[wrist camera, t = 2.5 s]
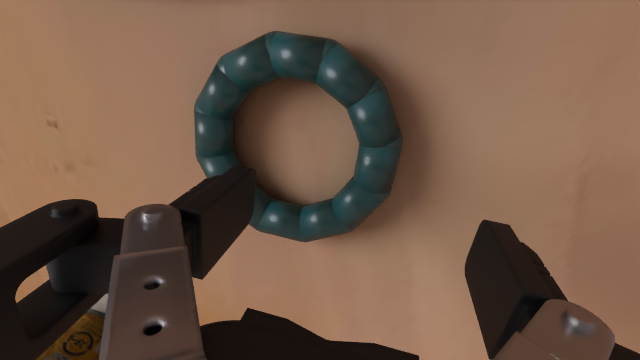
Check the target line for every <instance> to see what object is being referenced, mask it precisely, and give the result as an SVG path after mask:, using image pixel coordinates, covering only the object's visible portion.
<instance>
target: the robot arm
mask: <svg viewBox="0 0 640 360" xmlns="http://www.w3.org/2000/svg"><path fill="white" fill-rule="evenodd" d="M255 186H256V172H255V170H254V169H249V168H244V167H240V166H233V167H231V168H230V169H229V170H227V171H226V172H225V173H223V174H222V175H216V176H213V177H210V178H207V179H205V180H203V181H202V182H200V183H199V184H198V185H197V186H195V187H193V188H192V189H190V191H188V192H186V193H185V194H183V195H182V196H180V197H179V198H178V199H176V200H175V201H173V202H172V203H170V204H169V205H165V204H150V205H144V206H141V207H138V208H135V209H133V210H131V211H130V212H129V213H128V214H127V215H126V216H125V219H120V218H99V216H98V210H97V206H96V204H95V203H93V202H91V201H88V200H82V199H70V200H62V201H57V202H54V203H50V204H47V205H45V206H43V207H41V208H39V209H37V210H35V211H33V212H31V213H29V214H27V215H25V216H23V217H21V218H19V219H17V220H15V221H13V222H11V223H9V224H7V225H5V226H3V227H1V228H0V360H36V359H37V358H38V357H39V356H40V355H41V354H43V353H44V352H45V351H46V350H47V349H48V348H49V347H50V346H51V345H52V344H53V343H54V342H55V341H56V340H57V339H59V338H60V337H61V336H62V335H63V334H64V333H65V332H66V331H67V330H68V329H69V328H70V327H71V326H72V325H73V324H74V323H76V322H77V321H78V320H79V319H80V318H81V317H82V316H83V315H84V314H85V313H86V312H87V311H88V310H89V309H90V308H92V307H93V306H94V305H95V304H96V303H97V302H98V301H99V300H100V299H101V298H102V297H103V296H104V295H105V294H108V299H107V306H106V313H105V320H104V327H103V334H102V340H101V347H100V354H99V360H419V356H418V355H414V354H411V353H407V352H404V351H400V350H396V349H393V348H389V347H386V346H382V345H379V344H375V343H360V342H343V341H330V340H326V339H324V338H322V337H320V336H318V335H316V334H314V333H313V332H311V331H309V330H307V329H305V328H303V327H301V326H299V325H298V324H296V323H294V322H292V321H290V320H288V319H286V318H282V317H279V316H275V315H271V314H268V313H264V312H261V311H257V310H254V309H250V308H247V310H246V311H245V313H244V315H243V317H242V318H241V320H230V321H220V322H214V323H210V324H206V325H202V326H200V325H199V318H198V312H197V306H196V299H195V293H194V286H193V280H192V277H194V278H198V279H201V280H202V279H203V278H204V277H205V276H206V275H207V273H208V272H209V271H210V270H211V269H212V267H213V266H214V265H215V264H216V263H217V261H218V260H219V259H220V258H221V257H222V255H223V254H224V253H225V252H226V251H227V249H228V248H229V247H230V246H231V245H232V243H233V242H234V241H235V240H236V239H237V237H238V236H239V235H240V234H241V233H242V231H243V230H244V229H245V228H246V227H247V225H248V224H249V223H250V221H251V219H252V216H253V212H254V203H255ZM45 265H46V266H47V270H48V274H49V278H50V279H49V280H48V281H46V282H45V283H44V284H42V285H41V286H40V287H38V288H37V289H35V290H34V291H33V292H31V293H30V294H29V295H27V296H26V297H25V298H23V299H22V300H20V301H19V302H18V303H16V301H15V295H16V291H17V289H18V287H19V286H20V284H21V283H22V282H23V281H24V280H25V279H26V278H27V277H29V276H30V275H31V274H33V273H34V272H36V271H37V270H39V269H40V268H42V267H43V266H45ZM465 277H466V281H467V284H468V288H469V291H470V295H471V298H472V302H473V305H474V308H475V312H476V315H477V319H478V322H479V326H480V329H481V333H482V336H483V340H484V343H485V347H486V350H487V353H488V357H489V359H491V360H640V354H639V353H637V352H634V351H632V350H630V349H628V348H625V347H623V346H621V345H619V344H617V343H615V336H614V334H613V332H612V331H611V329H610V328H609V327H608V326H607V325H606V324H605V323H604V322H603V321H602V320H601V319H600V318H598V317H597V316H596V315H594V314H593V313H591V312H590V311H588V310H586V309H585V308H583V307H581V306H579V305H576V304H574V303H571V302H568V300H567V299H566V297H565V296H564V294H563V293H562V291H561V290H560V288H559V287H558V285H557V283H556V282H555V280H554V279H553V277H552V276H550V273H549V271H548V270H547V268H546V267H544V264H543V262H542V261H541V259H540V258H539V256H538V255H537V254H536V253H535V252H534V251H533V250H532V249H530V248H529V247H528V246H527V245H526V244H524V243H522V242H520V241H519V240H518V238H517V236H516V235H515V233H514V231H513V230H512V228H511V227H510V225H507V224H503V223H498V222H493V221H489V220H483V221H482V222H481V223H480V225H479V228H478V230H477V233H476V236H475V238H474V241H473V243H472V246H471V248H470V251H469V254H468V256H467V259H466V263H465Z"/></svg>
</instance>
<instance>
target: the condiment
mask: <svg viewBox="0 0 640 360" xmlns="http://www.w3.org/2000/svg"><path fill="white" fill-rule="evenodd" d="M107 299H108V294H105V295H104V296H103V297H102V298H101V299H100V300H99V301H98V302H97V303H96V304H95V305H94V306H93V307H92V308H90V309H89V310H88V311H87V312H86V313H85V314H84V315H83V316H82V317H81V318H80V319H79V320H78V321H77V322H76V323H74V324H73V325H72V326H71V327H70V328H69V329H68V330H67V331H66V332H65V333H64V334H63V335H62V336H61V337H60V338H59V339H57V340H56V341H55V342H54V343H53V344H52V345H51V346H50V347H49V348H48V349H47V350H46V351H45V352H44V353H43V354H41V355H40V356H39V357H38V358H37V359H36V360H99V354H100V347H101V340H102V334H103V327H104V320H105V313H106V306H107Z"/></svg>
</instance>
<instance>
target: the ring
mask: <svg viewBox="0 0 640 360" xmlns="http://www.w3.org/2000/svg"><path fill="white" fill-rule="evenodd" d="M280 77H281V78H287V79H293V80H299V81H305V82H311V83H317V84H318V85H319V86H320V87H321V88H323V89H324V90H325V91H326V92H327V93H329V94H330V95H331V96H332V97H333V98H335V99H336V100H337V101H338V102H339V103H341V104H342V105H343V106H344V107H345V108H347V111H348V113H349V116H350V119H351V121H352V124H353V127H354V130H355V132H356V135H357V138H358V140H359V143H360V145H359V151H358V156H357V161H356V167H355V172H354V176H353V178H352V179H351V180H350V181H349V182H348V183H347V184H346V185H345V186H344V187H343V188H342V189H341V190H340V191H339V193H338V194H337V195H336V196H335V197H334V198H332V199H328V200H325V201H321V202H317V203H314V204H310V205H307V206H302V205H298V204H293V203H289V202H285V201H280V200H276V199H273V198H272V197H271V196H269V195H268V194H267V193H266V192H264V191H263V190H262V189H261V188H259V187H258V186H257V185H256V186H255V203H254V212H253V216H252V219H251V221H250V223H249V225H251V226H252V227H253V228H255V229H256V230H258V231H260V232H264V233H268V234H272V235H276V236H280V237H284V238H288V239H292V240H297V241H301V242H309V241H313V240H318V239H322V238H326V237H330V236H334V235H339V234H343V233H347V232H350V231H352V230H354V229H355V228H356V227H358V226H359V225H360V224H361V223H362V222H363V221H364V220H365V219H366V218H367V217H368V216H369V215H370V214H371V213H372V212H373V211H374V210H375V209H376V208H377V207H378V206H379V205H380V204H381V203H382V202H383V201H385V200H386V198H387V197H388V196H389V194H390V192H391V189H392V184H393V180H394V176H395V172H396V168H397V164H398V160H399V156H400V151H401V147H402V135H401V132H400V129H399V126H398V123H397V120H396V117H395V114H394V111H393V108H392V105H391V102H390V99H389V96H388V93H387V90H386V87H385V84H384V83H383V81H382V80H381V79H380V78H379V77H378V76H377V75H376V74H375V73H373V72H372V71H371V70H370V69H369V68H368V67H366V66H365V65H364V64H363V63H362V62H361V61H359V60H358V59H357V58H356V57H355V56H354V55H352V54H351V53H350V52H349V51H348V50H347V49H345V48H344V47H343V46H342V45H341V44H340V43H338V42H337V41H335V40H332V39H328V38H321V37H314V36H307V35H300V34H293V33H286V32H280V31H273V32H269V33H267V34H265V35H263V36H261V37H259V38H257V39H255V40H253V41H251V42H249V43H247V44H245V45H243V46H241V47H239V48H237V49H235V50H233V51H231V52H229V53H227V54H225V55H223V56H222V57H221V58H220V59H219V60H218V62H217V64H216V66H215V67H214V69H213V71H212V73H211V75H210V76H209V78H208V80H207V82H206V84H205V86H204V87H203V89H202V91H201V93H200V95H199V96H198V98H197V100H196V103H195V107H194V117H195V149H196V157H197V160H198V162H199V164H200V166H201V167H202V169H203V171H204V173H205V175H206V177H207V178H210V177H213V176H216V175H222V174H223V173H225V172H226V171H227V170H229V169H230V168H231V167H233V166H240V167H242V165H241V163H240V161H239V159H238V157H237V155H236V153H235V151H234V116H235V115H236V113H237V112H238V110H239V108H240V107H241V105H242V104H243V102H244V100H245V99H246V97H247V96H248V94H249V93H250V91H251V90H253V89H255V88H258V87H260V86H262V85H264V84H267V83H269V82H271V81H274V80H276V79H278V78H280Z"/></svg>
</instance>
